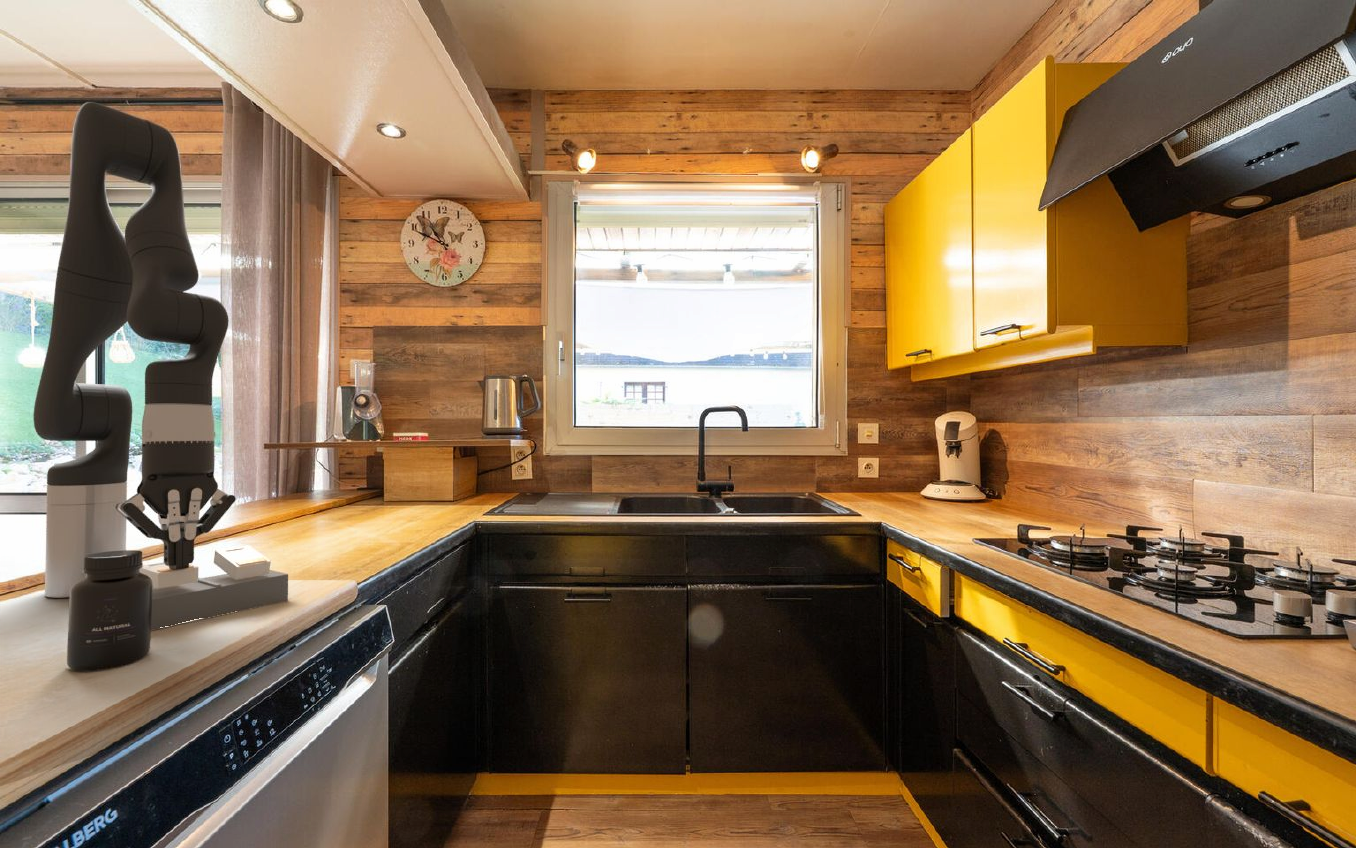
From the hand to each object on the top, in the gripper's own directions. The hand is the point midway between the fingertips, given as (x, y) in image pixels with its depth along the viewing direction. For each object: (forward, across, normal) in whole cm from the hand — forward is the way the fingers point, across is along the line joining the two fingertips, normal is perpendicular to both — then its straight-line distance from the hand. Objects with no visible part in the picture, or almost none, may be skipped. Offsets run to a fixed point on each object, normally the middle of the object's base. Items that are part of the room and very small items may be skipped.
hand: (178, 568), depth 81 cm
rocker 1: (+1, 0, -4) cm, 4 cm away
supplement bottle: (+8, +10, +9) cm, 15 cm away
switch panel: (+7, -4, -4) cm, 9 cm away
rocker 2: (+1, -9, -4) cm, 10 cm away
